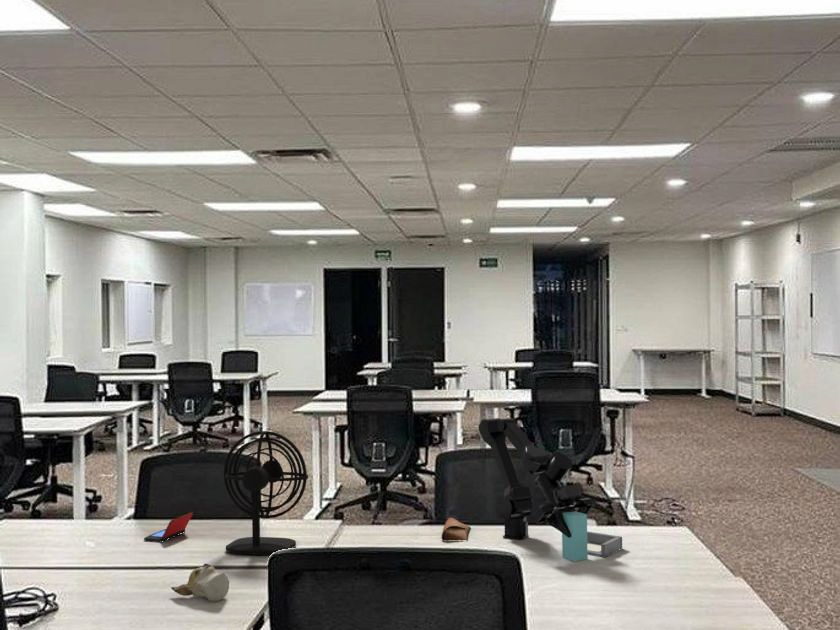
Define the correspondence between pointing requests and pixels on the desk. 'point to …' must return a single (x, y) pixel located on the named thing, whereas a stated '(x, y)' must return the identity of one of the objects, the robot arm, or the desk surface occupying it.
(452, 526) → the sunglasses case
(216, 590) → the ceramic sculpture
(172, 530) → the handheld game console
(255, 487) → the desk fan
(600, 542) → the tray
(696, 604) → the desk surface
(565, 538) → the block
